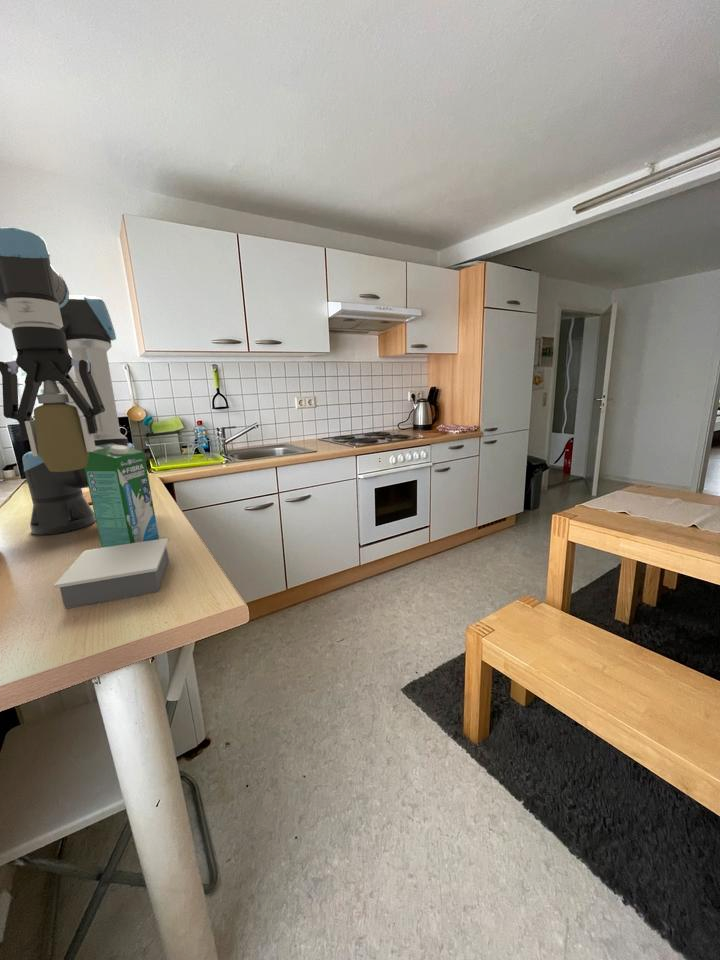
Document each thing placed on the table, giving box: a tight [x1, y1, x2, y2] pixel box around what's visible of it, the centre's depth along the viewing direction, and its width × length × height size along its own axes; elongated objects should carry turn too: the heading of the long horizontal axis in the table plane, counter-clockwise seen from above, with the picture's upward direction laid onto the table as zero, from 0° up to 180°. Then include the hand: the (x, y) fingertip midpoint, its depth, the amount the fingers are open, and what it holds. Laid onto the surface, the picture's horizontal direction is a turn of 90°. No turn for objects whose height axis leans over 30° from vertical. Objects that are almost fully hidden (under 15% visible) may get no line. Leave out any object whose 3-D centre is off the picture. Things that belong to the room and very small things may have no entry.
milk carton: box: [85, 443, 160, 548], centre depth 95 cm, size 9×9×25 cm
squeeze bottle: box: [33, 380, 89, 472], centre depth 74 cm, size 8×8×18 cm
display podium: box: [54, 537, 170, 609], centre depth 77 cm, size 16×16×5 cm
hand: (65, 452), depth 75 cm, fingers closed on squeeze bottle, 8 cm apart
